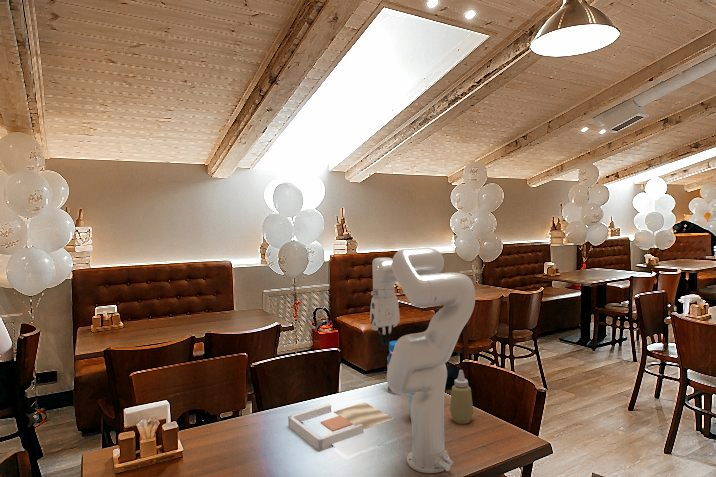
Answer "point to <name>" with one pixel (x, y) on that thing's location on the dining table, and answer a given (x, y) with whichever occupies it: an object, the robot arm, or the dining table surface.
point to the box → (314, 439)
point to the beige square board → (363, 415)
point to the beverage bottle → (391, 348)
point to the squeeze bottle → (461, 400)
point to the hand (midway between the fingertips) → (385, 344)
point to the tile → (336, 423)
